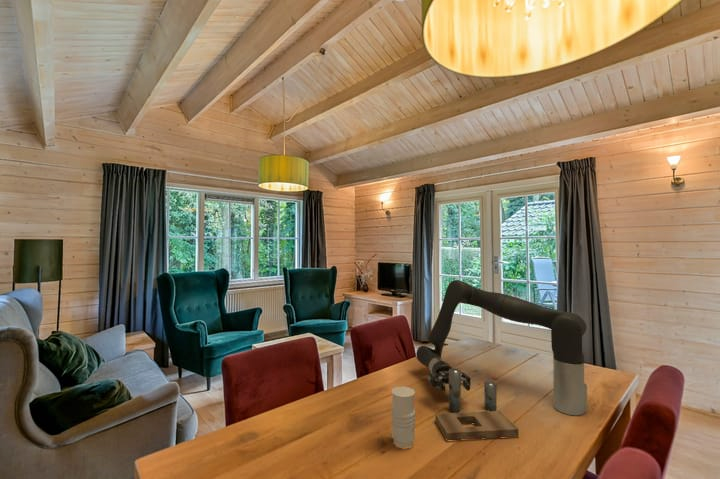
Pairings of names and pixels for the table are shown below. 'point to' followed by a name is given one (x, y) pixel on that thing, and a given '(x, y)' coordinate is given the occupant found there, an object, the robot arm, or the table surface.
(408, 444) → the white ribbed cylinder
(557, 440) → the table surface
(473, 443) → the table surface
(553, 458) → the table surface
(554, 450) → the table surface
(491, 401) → the short pin
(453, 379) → the tall pin
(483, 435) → the hole plate
